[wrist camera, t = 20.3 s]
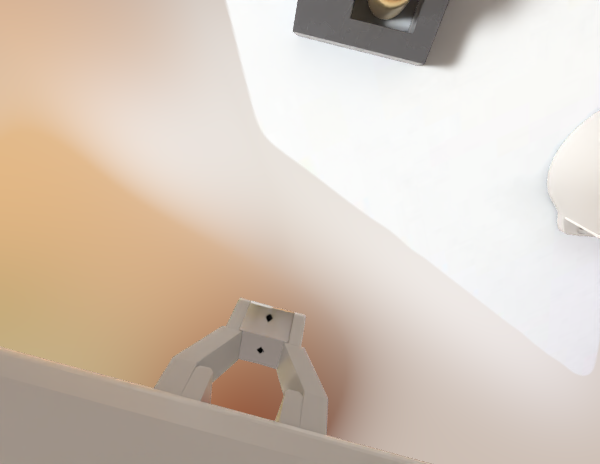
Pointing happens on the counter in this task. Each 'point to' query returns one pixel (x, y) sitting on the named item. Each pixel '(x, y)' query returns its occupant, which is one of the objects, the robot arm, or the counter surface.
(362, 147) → the counter surface
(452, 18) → the counter surface
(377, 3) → the gold round-topped cylinder
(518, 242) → the counter surface
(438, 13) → the jig plate
